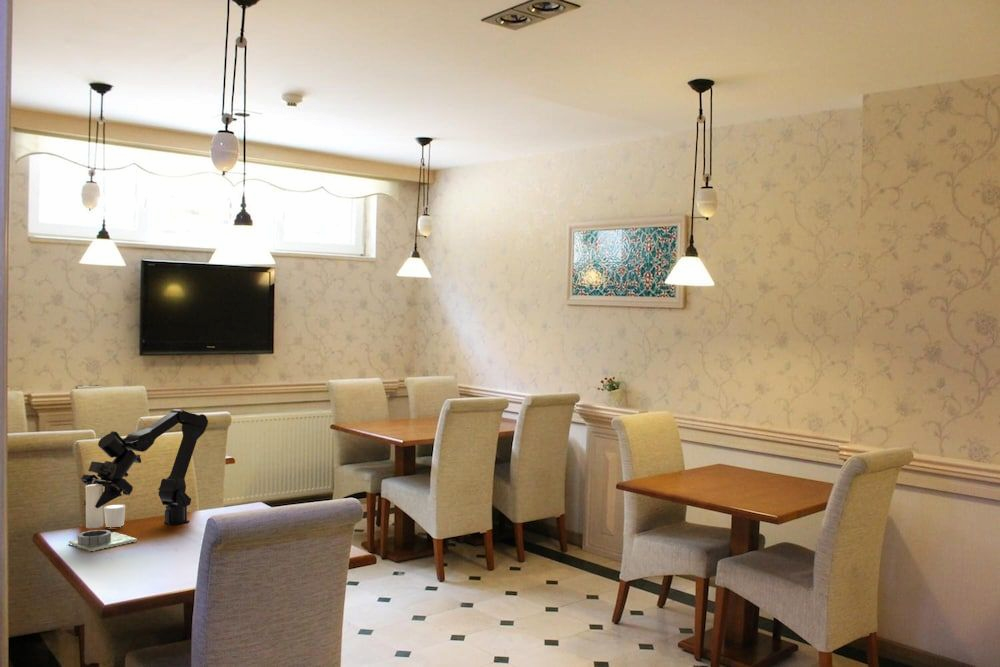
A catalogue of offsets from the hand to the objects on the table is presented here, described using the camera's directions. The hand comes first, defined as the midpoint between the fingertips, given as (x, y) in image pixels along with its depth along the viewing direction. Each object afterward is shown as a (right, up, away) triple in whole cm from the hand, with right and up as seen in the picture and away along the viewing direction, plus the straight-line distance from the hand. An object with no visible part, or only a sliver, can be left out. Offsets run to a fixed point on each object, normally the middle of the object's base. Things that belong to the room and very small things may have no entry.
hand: (90, 506), depth 269 cm
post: (+1, -7, +1) cm, 7 cm away
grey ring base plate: (+2, -12, +3) cm, 13 cm away
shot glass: (-4, -12, +25) cm, 28 cm away
